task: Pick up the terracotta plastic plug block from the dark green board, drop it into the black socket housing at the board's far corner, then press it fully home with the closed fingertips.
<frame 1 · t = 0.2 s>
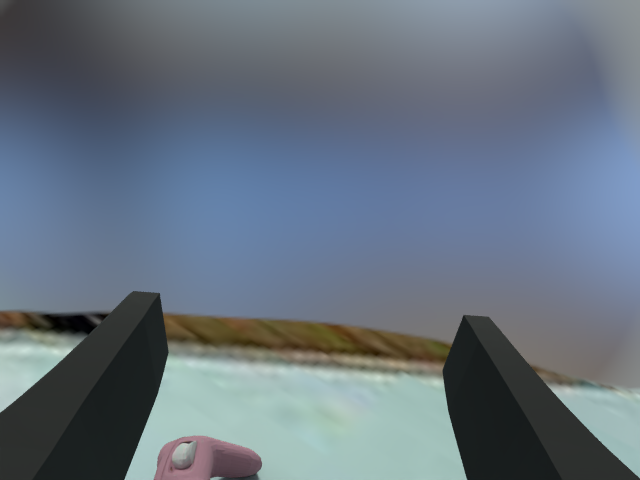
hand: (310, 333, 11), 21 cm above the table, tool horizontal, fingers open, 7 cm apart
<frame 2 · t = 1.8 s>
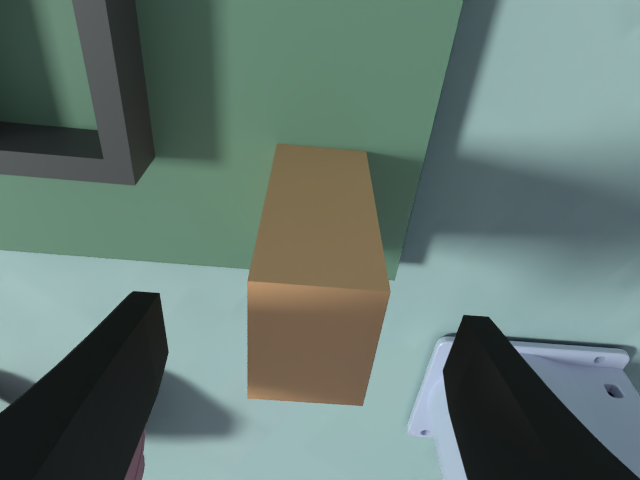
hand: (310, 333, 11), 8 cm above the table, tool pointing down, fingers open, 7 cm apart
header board: (193, 107, 16), on the table
plug: (316, 199, 16), point 1 cm above the table, touching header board
video game controller: (71, 395, 26), on the table
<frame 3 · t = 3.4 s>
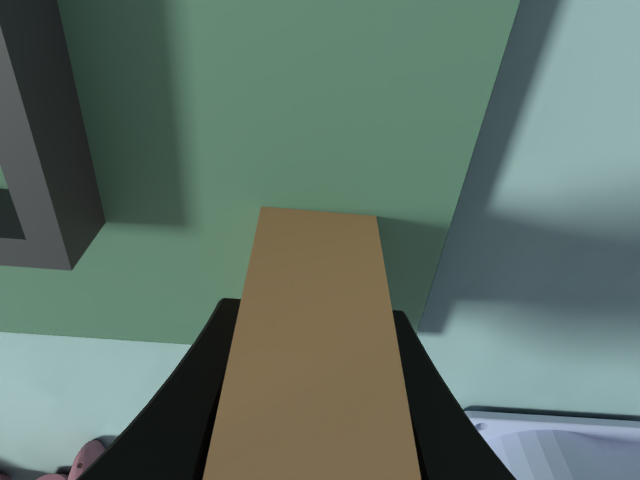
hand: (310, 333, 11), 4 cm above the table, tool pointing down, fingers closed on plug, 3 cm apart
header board: (154, 158, 12), on the table
plug: (312, 270, 13), point 1 cm above the table, touching gripper, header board
video game controller: (29, 462, 22), on the table
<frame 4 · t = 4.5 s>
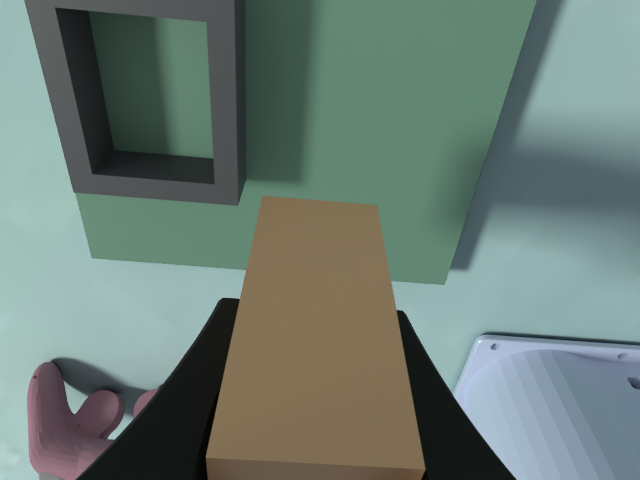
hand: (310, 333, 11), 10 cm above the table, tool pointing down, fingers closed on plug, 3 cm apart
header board: (277, 136, 18), on the table
plug: (313, 260, 13), point 7 cm above the table, touching gripper
video game controller: (135, 383, 28), on the table
when the fingers open (6 cm above the table, at t = 6.1 s): plug drops 3 cm, resting on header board.
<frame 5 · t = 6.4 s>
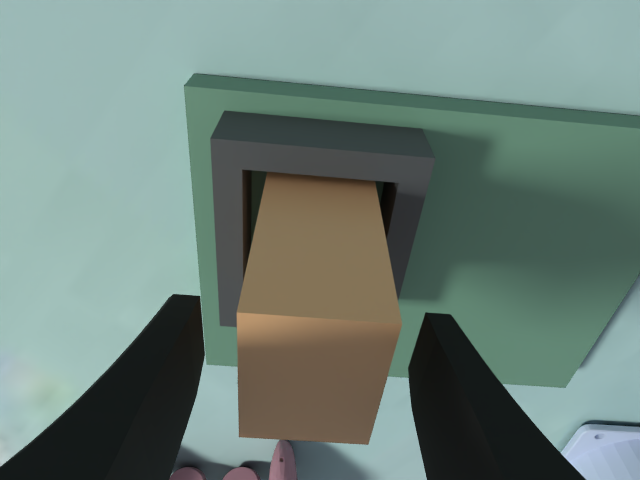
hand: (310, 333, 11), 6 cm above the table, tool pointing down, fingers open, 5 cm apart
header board: (413, 252, 18), on the table
plug: (316, 208, 15), point 1 cm above the table, touching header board
video game controller: (217, 458, 27), on the table
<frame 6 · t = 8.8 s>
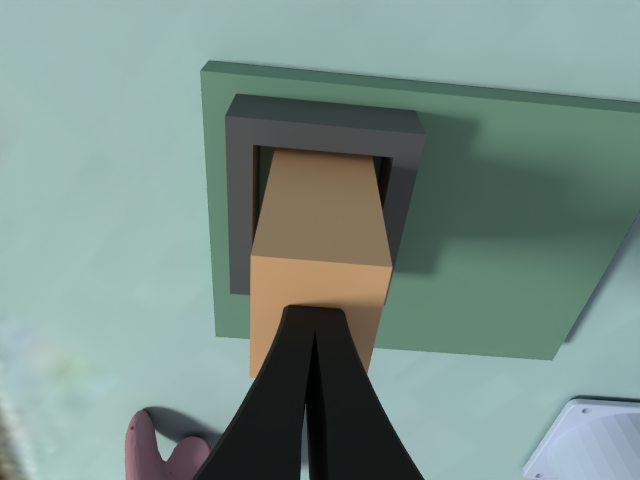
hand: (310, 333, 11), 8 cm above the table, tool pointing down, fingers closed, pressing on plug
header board: (409, 229, 19), on the table
plug: (318, 185, 16), point 1 cm above the table, touching gripper, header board
video game controller: (221, 428, 28), on the table
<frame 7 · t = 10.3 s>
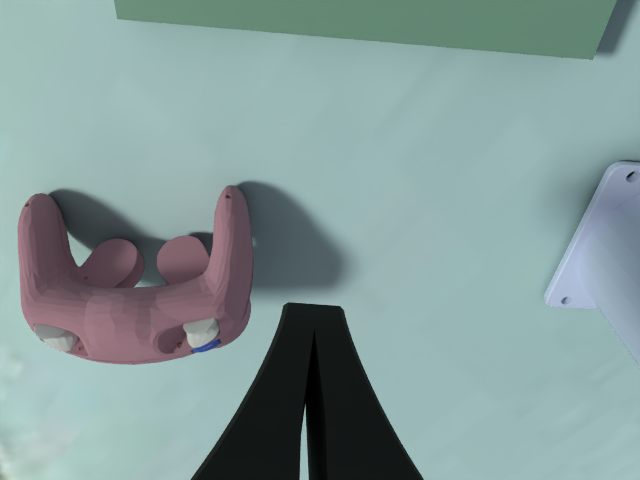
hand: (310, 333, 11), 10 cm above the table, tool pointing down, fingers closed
video game controller: (157, 233, 22), on the table
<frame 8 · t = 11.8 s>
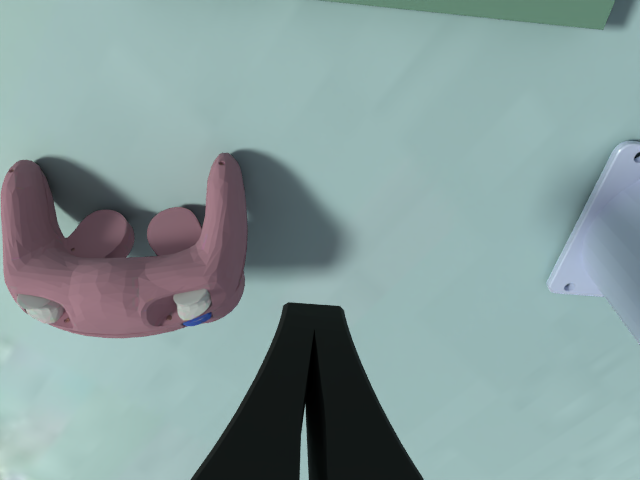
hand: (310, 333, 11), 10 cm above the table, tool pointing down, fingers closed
video game controller: (148, 206, 21), on the table
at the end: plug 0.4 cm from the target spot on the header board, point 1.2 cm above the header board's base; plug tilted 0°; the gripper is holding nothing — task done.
